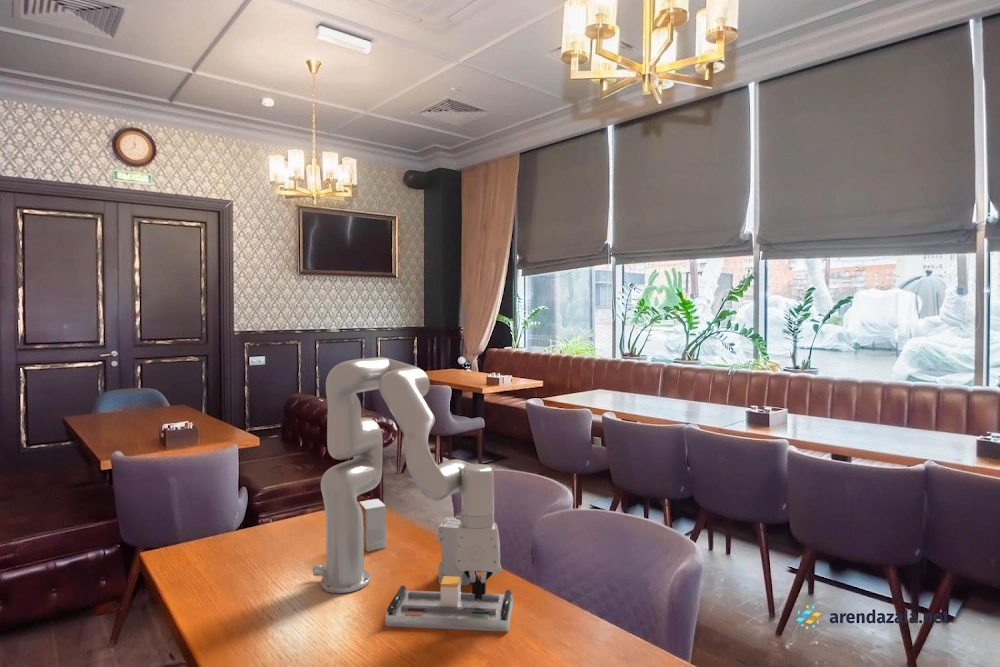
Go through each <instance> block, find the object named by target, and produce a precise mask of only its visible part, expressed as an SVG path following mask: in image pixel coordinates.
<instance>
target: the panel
mask: <svg viewBox="0 0 1000 667" xmlns="http://www.w3.org/2000/svg"><path fill="white" fill-rule="evenodd" d="M513 598H514V594H512V591H511V589H506V590H505V591H504V594H503V593H485V595H483V597H482V600H479V599H477V600H475V594H472V592H461V601H460V604H459V606H458V607H441V591H430V590H429V591H428V590H425V591H424V590H407V587H406V586H405V585H401V586H400V587H399V588H398V590H397V592H396V593H395V594H394V596H393V598H392V600H391V601H390V604H389V605H388V607H387V608H386V612H385V614H384V615H385V616H384V622H385V623H384V625H385V627H394V628H395V627H398V628H401V627H402V628H415V629H416V628H419V629H438V630H439V629H441V630H443V629H444V630H461V631H463V630H464V631H482V632H485V631H486V632H503V633H504V632H505V633H509V631H510V630H509V629H510V624H511V618H512V612H513V606H514V599H513Z"/></svg>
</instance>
